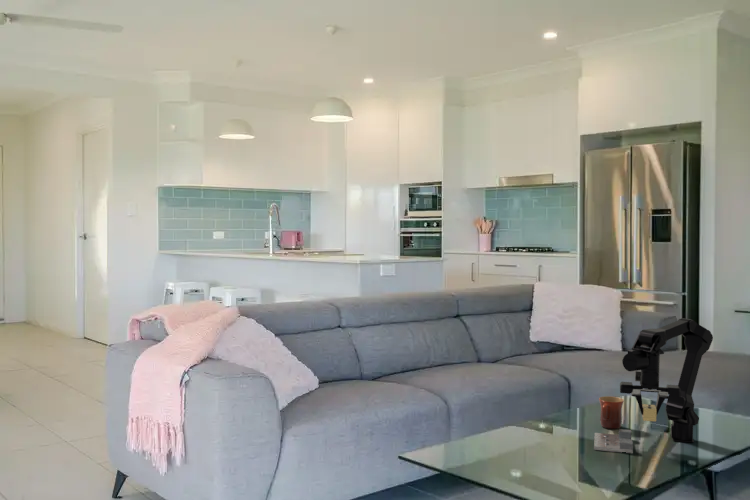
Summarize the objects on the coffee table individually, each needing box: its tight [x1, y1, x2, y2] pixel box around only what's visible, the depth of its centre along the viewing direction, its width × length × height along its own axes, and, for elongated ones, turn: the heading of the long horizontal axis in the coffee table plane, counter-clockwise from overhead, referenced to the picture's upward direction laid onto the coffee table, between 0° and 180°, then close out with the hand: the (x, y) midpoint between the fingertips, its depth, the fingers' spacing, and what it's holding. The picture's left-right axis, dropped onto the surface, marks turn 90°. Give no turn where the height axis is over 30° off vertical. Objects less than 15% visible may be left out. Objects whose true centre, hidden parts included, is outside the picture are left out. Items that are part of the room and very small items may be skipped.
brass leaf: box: [641, 403, 657, 422], centre depth 244 cm, size 4×6×4 cm, turn 164°
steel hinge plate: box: [593, 428, 634, 454], centre depth 248 cm, size 12×16×3 cm
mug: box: [598, 395, 625, 430], centre depth 267 cm, size 12×9×10 cm
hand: (649, 414), depth 244 cm, fingers closed on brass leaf, 4 cm apart
